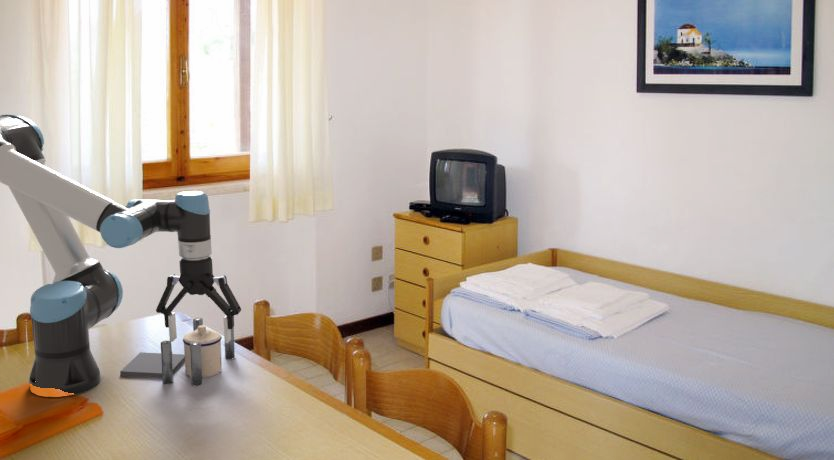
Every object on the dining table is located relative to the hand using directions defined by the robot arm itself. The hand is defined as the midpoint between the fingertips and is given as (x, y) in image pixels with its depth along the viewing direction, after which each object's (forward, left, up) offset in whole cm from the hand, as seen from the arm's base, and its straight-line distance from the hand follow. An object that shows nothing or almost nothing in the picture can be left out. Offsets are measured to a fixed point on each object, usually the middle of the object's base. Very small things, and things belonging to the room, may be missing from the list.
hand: (200, 340), depth 192 cm
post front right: (+2, -8, -8) cm, 11 cm away
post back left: (-3, +8, -8) cm, 12 cm away
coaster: (-12, 0, -8) cm, 14 cm away
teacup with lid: (0, 0, -8) cm, 8 cm away
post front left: (-5, -8, -8) cm, 12 cm away
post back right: (+5, +8, -8) cm, 12 cm away
